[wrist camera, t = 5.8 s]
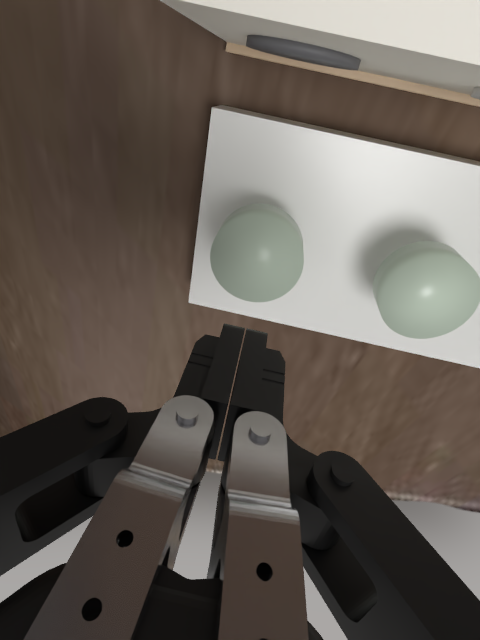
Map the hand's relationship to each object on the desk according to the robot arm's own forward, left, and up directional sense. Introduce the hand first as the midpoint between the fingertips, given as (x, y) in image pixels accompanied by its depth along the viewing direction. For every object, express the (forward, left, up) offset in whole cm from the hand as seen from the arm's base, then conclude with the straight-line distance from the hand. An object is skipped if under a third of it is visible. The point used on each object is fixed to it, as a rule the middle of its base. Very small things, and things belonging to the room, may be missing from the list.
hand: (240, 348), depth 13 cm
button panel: (+9, 0, -15) cm, 17 cm away
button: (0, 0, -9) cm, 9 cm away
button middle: (+9, 0, -9) cm, 13 cm away
